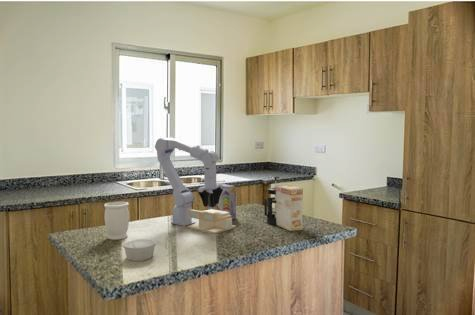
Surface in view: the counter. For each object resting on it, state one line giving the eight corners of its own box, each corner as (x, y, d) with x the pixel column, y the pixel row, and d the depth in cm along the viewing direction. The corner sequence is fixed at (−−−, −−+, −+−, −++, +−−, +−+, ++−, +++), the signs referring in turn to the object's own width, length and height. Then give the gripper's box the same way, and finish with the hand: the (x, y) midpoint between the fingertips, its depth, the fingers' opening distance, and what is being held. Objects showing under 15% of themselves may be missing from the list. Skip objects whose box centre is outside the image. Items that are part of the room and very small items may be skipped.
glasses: (207, 212, 195) (207, 206, 195) (231, 217, 185) (231, 210, 185) (189, 217, 186) (189, 210, 186) (214, 222, 176) (214, 214, 176)
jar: (104, 235, 174) (103, 202, 173) (128, 233, 177) (127, 200, 176) (105, 242, 164) (104, 206, 163) (131, 239, 168) (130, 204, 166)
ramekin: (117, 258, 143) (117, 244, 143) (140, 250, 152) (140, 237, 152) (138, 264, 137) (138, 249, 137) (161, 255, 146) (161, 242, 146)
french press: (290, 222, 195) (290, 176, 193) (279, 226, 188) (279, 178, 186) (271, 219, 203) (270, 175, 201) (259, 222, 196) (259, 176, 194)
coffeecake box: (303, 229, 182) (303, 188, 180) (289, 231, 179) (290, 189, 177) (286, 222, 195) (286, 183, 194) (274, 224, 192) (274, 184, 191)
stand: (208, 221, 198) (208, 208, 197) (236, 227, 187) (236, 212, 186) (186, 227, 186) (186, 213, 186) (214, 234, 175) (214, 218, 174)
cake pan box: (206, 214, 214) (206, 182, 213) (213, 213, 217) (213, 181, 216) (229, 220, 200) (229, 186, 198) (236, 219, 203) (236, 185, 202)
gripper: (205, 179, 179) (206, 208, 180) (226, 175, 190) (227, 203, 191) (194, 178, 183) (195, 206, 184) (215, 174, 194) (216, 201, 195)
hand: (211, 205), depth 188 cm, fingers open, 7 cm apart
